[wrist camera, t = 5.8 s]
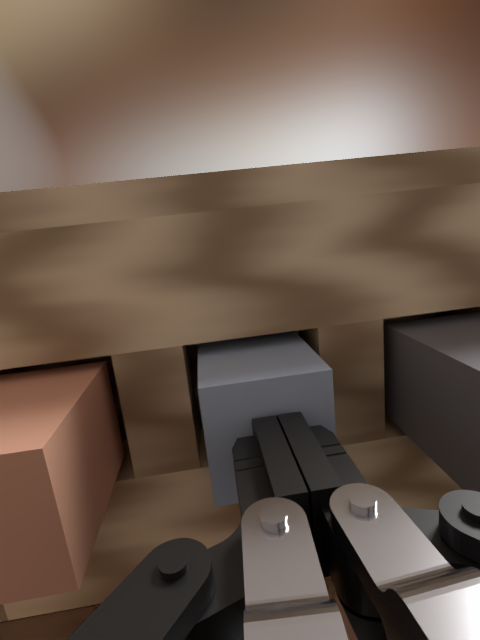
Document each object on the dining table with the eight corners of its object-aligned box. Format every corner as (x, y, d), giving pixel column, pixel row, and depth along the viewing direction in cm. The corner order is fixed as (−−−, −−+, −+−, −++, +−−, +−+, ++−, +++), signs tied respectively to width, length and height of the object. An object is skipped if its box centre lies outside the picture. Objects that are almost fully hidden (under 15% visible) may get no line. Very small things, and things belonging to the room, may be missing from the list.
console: (428, 424, 26) (431, 175, 22) (545, 521, 17) (583, 136, 13) (53, 483, 24) (-14, 220, 20) (-31, 627, 15) (-178, 209, 11)
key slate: (292, 404, 18) (286, 323, 17) (338, 486, 12) (332, 369, 11) (209, 416, 18) (198, 334, 17) (214, 507, 12) (197, 388, 11)
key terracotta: (124, 454, 15) (106, 361, 14) (78, 590, 9) (42, 448, 8) (22, 469, 15) (-4, 375, 14) (-91, 621, 9) (-148, 476, 8)
